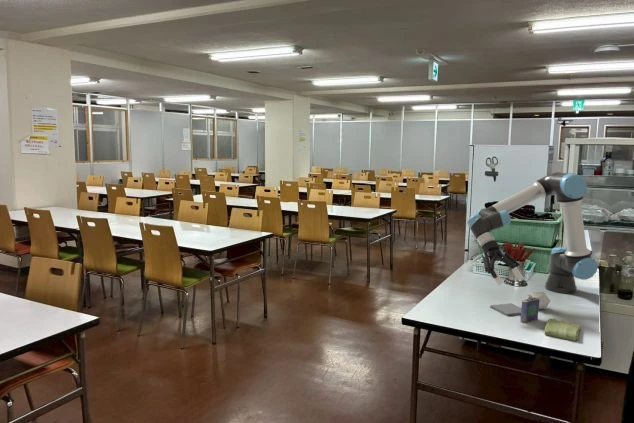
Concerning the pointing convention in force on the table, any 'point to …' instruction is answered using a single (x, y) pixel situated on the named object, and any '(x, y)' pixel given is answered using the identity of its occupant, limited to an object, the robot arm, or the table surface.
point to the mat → (507, 309)
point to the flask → (529, 309)
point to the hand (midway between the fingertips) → (511, 282)
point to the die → (541, 299)
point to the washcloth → (562, 329)
